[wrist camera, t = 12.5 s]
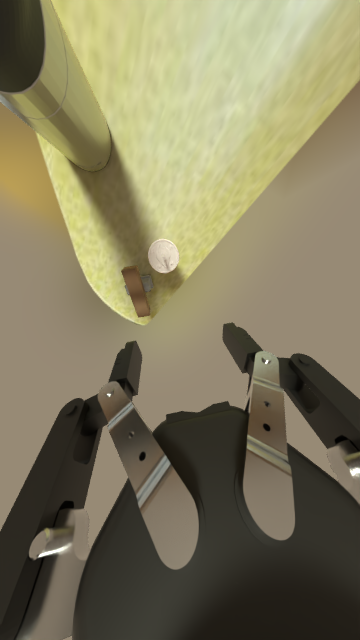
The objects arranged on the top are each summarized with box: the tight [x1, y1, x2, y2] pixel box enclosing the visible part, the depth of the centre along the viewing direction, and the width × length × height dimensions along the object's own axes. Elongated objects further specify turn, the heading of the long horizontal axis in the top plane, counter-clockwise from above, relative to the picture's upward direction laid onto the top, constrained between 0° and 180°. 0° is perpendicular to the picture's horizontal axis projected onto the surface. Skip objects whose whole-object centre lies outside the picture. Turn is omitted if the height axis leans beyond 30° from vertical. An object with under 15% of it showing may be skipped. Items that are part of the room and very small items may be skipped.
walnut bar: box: [121, 265, 150, 317], centre depth 33 cm, size 12×3×4 cm, turn 7°
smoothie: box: [148, 239, 179, 273], centre depth 29 cm, size 6×6×14 cm
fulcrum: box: [125, 275, 153, 295], centre depth 36 cm, size 4×7×5 cm, turn 97°
